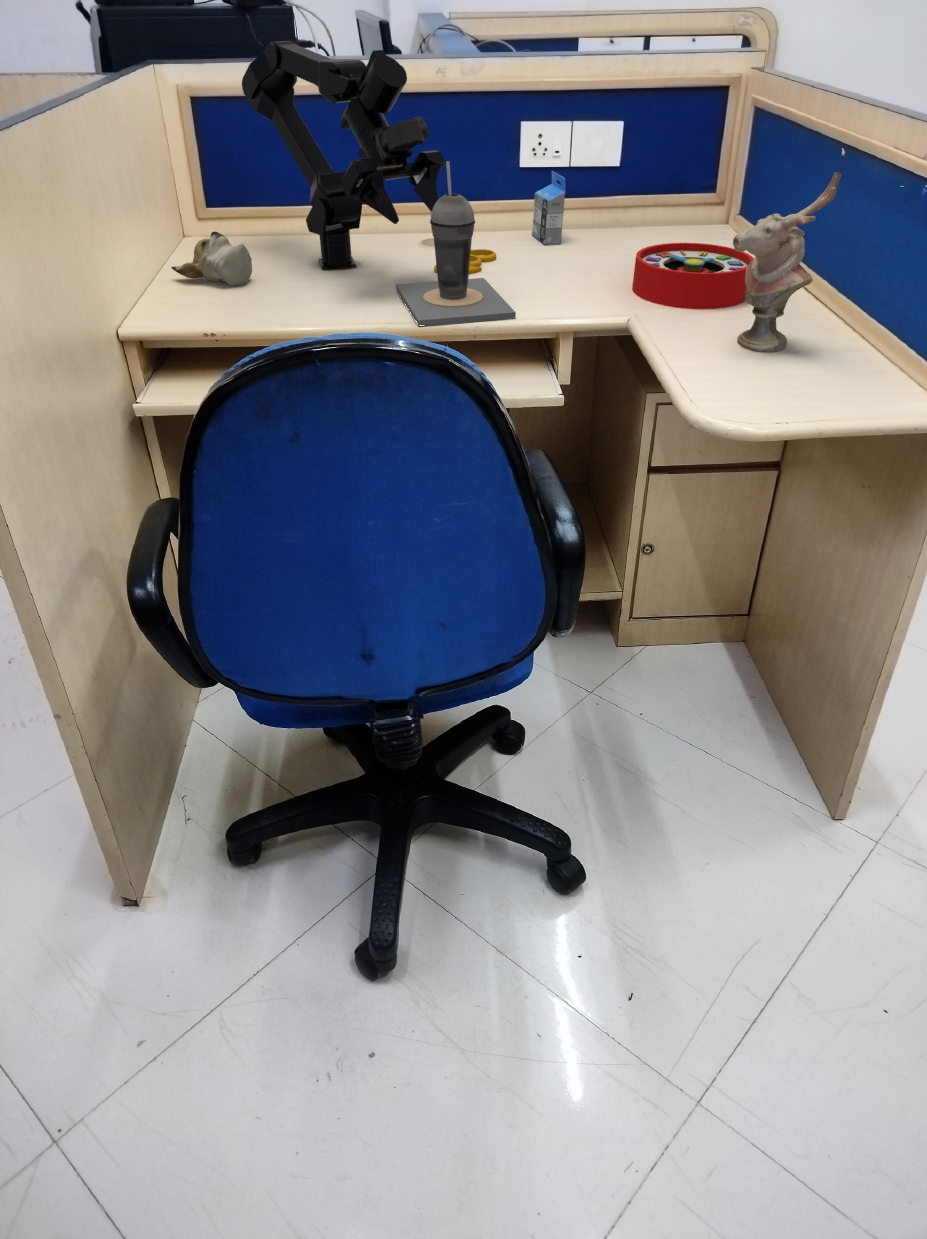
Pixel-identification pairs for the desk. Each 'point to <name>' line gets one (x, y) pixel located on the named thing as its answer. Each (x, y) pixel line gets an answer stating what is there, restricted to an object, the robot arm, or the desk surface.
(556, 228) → the label tape box
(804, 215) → the decorative bust
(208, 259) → the ceramic sculpture
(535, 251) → the desk surface
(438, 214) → the beverage cup
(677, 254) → the toy clock
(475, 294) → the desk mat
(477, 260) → the yellow joined rings
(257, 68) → the robot arm
